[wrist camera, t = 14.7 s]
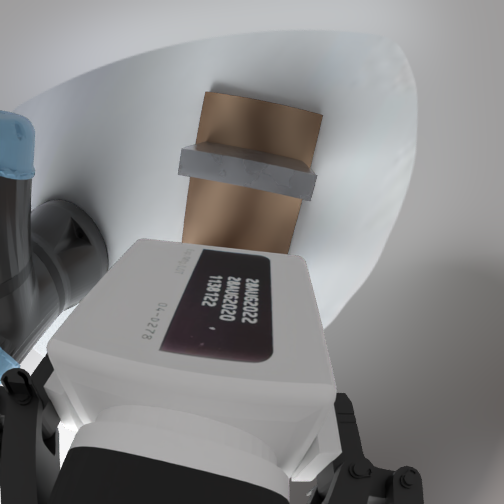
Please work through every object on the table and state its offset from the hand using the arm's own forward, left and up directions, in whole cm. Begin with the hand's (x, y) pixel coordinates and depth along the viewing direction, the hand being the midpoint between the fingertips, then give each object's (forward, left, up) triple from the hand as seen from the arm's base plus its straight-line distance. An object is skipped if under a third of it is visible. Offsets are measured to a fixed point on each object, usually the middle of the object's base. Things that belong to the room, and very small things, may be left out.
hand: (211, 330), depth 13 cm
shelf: (0, +1, -21) cm, 21 cm away
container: (0, 0, -2) cm, 2 cm away
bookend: (0, +5, -20) cm, 20 cm away
